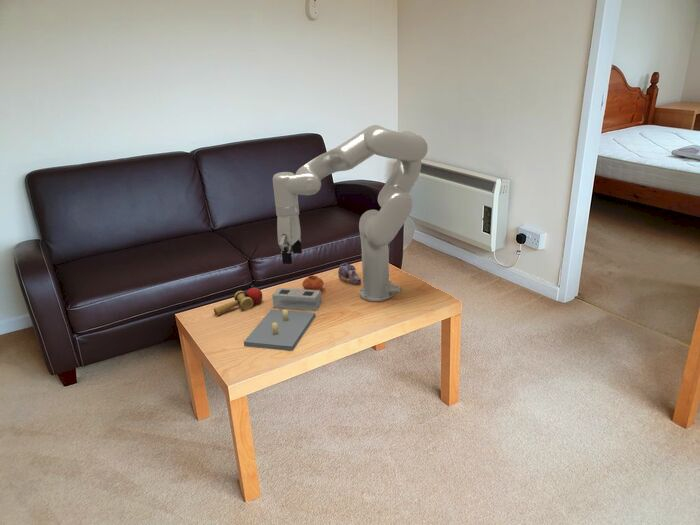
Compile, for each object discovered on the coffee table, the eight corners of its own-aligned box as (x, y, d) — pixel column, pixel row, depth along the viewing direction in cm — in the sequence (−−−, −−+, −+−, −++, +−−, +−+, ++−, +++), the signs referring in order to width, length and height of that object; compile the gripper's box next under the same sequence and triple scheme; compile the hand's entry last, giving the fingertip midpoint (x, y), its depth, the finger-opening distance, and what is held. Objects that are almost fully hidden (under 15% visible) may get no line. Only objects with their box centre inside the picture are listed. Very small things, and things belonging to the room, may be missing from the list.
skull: (365, 284, 199) (365, 269, 196) (347, 288, 196) (346, 273, 194) (352, 273, 209) (352, 259, 207) (335, 277, 206) (334, 263, 204)
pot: (308, 284, 200) (311, 269, 197) (325, 292, 197) (328, 277, 194) (297, 292, 194) (299, 276, 191) (314, 300, 191) (317, 284, 188)
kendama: (222, 323, 178) (268, 301, 186) (216, 307, 176) (262, 285, 184) (215, 319, 184) (259, 298, 193) (209, 303, 182) (254, 282, 191)
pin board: (315, 316, 176) (314, 303, 174) (292, 350, 157) (291, 336, 155) (271, 313, 180) (270, 300, 178) (244, 345, 161) (242, 331, 159)
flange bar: (321, 303, 185) (320, 290, 184) (316, 310, 180) (315, 297, 178) (279, 300, 189) (278, 287, 188) (273, 307, 184) (272, 294, 182)
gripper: (286, 202, 180) (291, 248, 186) (266, 217, 165) (272, 267, 171) (306, 203, 178) (310, 249, 185) (288, 218, 163) (294, 268, 169)
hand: (292, 258), depth 178 cm, fingers open, 9 cm apart
